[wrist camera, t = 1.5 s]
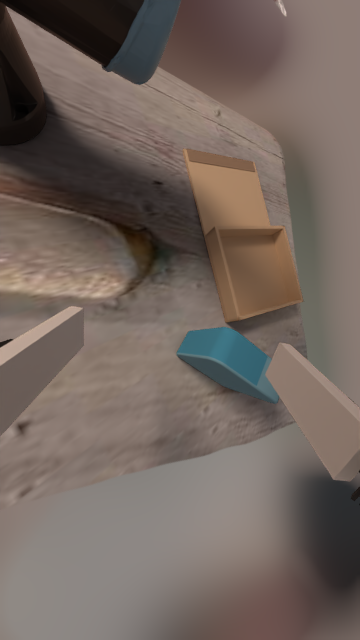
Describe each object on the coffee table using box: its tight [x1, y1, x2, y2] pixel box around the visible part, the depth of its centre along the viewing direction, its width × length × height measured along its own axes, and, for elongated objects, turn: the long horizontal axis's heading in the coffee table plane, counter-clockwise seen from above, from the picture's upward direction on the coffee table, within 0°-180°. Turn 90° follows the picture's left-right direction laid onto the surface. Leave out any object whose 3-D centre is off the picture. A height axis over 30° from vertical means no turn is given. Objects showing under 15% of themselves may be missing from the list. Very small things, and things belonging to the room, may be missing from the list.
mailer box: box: [183, 149, 303, 322], centre depth 39 cm, size 34×19×4 cm, turn 15°
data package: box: [176, 327, 279, 404], centre depth 28 cm, size 12×4×12 cm, turn 57°
